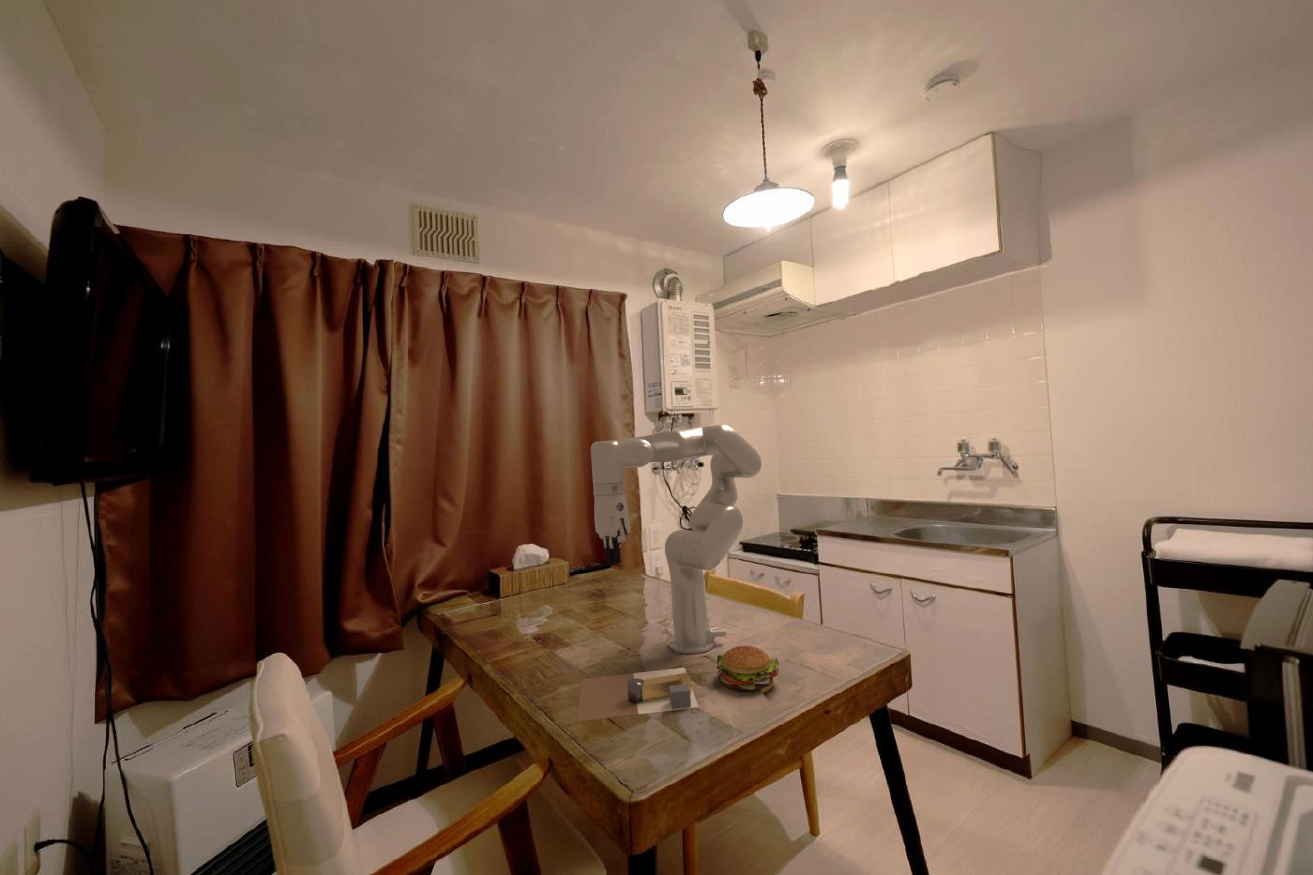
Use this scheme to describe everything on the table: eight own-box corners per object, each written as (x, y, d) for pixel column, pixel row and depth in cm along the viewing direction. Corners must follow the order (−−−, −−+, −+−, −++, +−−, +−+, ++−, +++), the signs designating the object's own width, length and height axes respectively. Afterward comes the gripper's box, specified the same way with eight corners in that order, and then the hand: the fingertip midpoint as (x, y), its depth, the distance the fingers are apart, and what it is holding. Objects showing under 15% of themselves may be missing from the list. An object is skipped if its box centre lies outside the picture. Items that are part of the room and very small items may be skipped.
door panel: (684, 672, 125) (683, 653, 125) (698, 712, 106) (697, 690, 106) (581, 684, 122) (580, 664, 122) (577, 727, 103) (575, 704, 103)
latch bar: (629, 704, 108) (628, 687, 108) (627, 696, 112) (625, 679, 112) (692, 693, 111) (690, 676, 111) (687, 685, 115) (686, 669, 115)
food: (793, 686, 114) (790, 650, 114) (742, 705, 108) (740, 667, 108) (754, 664, 126) (751, 632, 126) (706, 680, 120) (704, 646, 120)
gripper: (638, 489, 124) (643, 565, 124) (606, 487, 136) (610, 556, 136) (611, 493, 119) (617, 571, 119) (581, 490, 131) (585, 562, 131)
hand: (613, 563), depth 127 cm, fingers closed
